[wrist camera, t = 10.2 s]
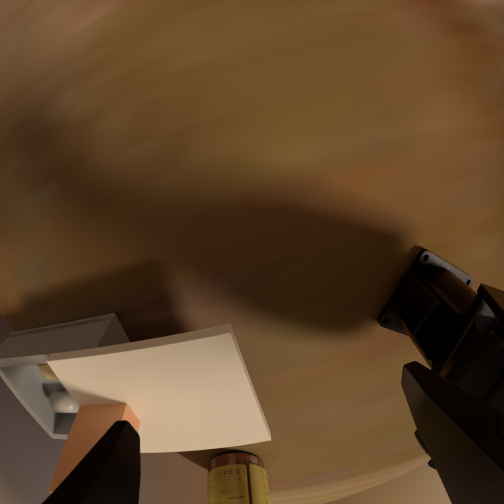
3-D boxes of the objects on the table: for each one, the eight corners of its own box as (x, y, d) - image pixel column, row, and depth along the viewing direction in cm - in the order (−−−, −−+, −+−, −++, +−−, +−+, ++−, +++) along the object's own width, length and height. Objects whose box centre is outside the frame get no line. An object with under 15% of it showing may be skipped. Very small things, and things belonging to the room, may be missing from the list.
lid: (230, 323, 17) (230, 461, 9) (270, 431, 21) (281, 532, 13) (51, 353, 17) (-2, 448, 10) (121, 445, 21) (102, 529, 14)
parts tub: (114, 312, 21) (96, 347, 18) (167, 404, 25) (160, 440, 21) (10, 332, 22) (-11, 359, 18) (64, 409, 26) (52, 438, 22)
